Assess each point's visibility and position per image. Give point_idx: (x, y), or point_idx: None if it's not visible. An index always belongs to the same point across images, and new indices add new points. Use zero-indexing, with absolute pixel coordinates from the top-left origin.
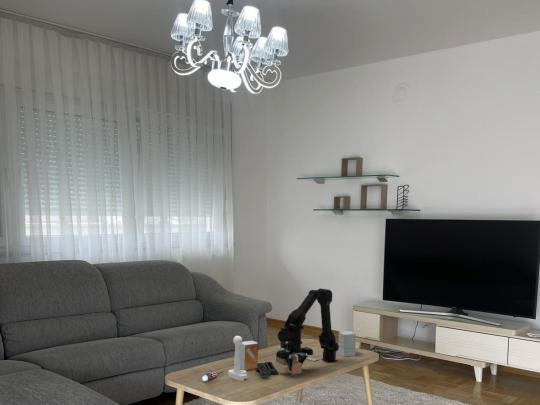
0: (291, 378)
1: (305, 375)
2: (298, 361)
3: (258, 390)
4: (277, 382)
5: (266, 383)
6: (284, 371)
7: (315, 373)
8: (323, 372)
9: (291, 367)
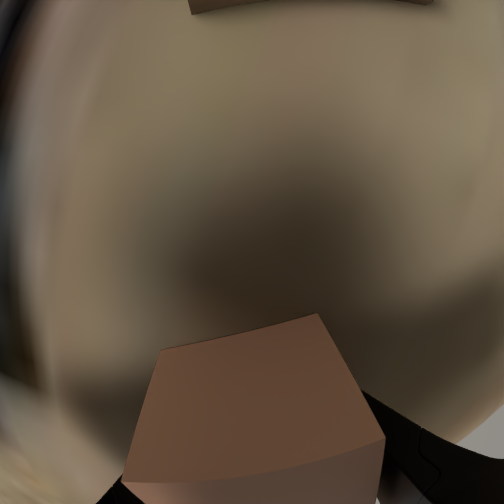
0: None
1: None
2: (373, 489)
3: (13, 499)
4: (69, 496)
5: (16, 476)
6: (113, 336)
7: (443, 415)
8: (499, 385)
9: None
